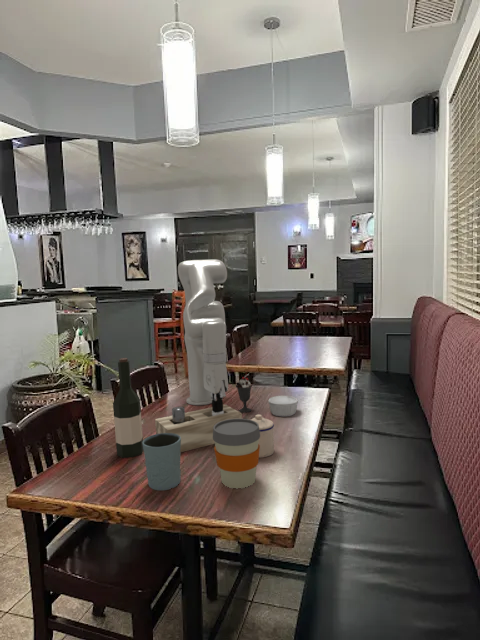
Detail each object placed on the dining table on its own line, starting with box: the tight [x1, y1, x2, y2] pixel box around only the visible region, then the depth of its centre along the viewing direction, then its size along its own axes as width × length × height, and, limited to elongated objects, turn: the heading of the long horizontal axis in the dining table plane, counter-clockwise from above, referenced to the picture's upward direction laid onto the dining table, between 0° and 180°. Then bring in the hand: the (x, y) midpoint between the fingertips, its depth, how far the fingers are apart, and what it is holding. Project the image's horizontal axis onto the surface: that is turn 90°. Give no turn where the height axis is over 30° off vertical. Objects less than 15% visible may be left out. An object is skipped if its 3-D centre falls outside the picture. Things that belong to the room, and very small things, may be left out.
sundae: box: [235, 373, 253, 414], centre depth 175 cm, size 7×7×15 cm
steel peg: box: [212, 410, 224, 416], centre depth 151 cm, size 4×4×8 cm
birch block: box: [154, 404, 243, 453], centre depth 148 cm, size 12×26×8 cm, turn 119°
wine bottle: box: [112, 357, 144, 459], centre depth 139 cm, size 8×8×30 cm
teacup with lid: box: [250, 413, 275, 458], centre depth 136 cm, size 12×9×12 cm
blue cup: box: [142, 433, 182, 491], centre depth 119 cm, size 10×10×12 cm
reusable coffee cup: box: [213, 418, 260, 490], centre depth 118 cm, size 13×13×15 cm
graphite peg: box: [171, 406, 186, 424], centre depth 144 cm, size 4×4×8 cm
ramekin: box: [267, 395, 299, 417], centre depth 172 cm, size 11×11×5 cm
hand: (217, 411), depth 151 cm, fingers closed
